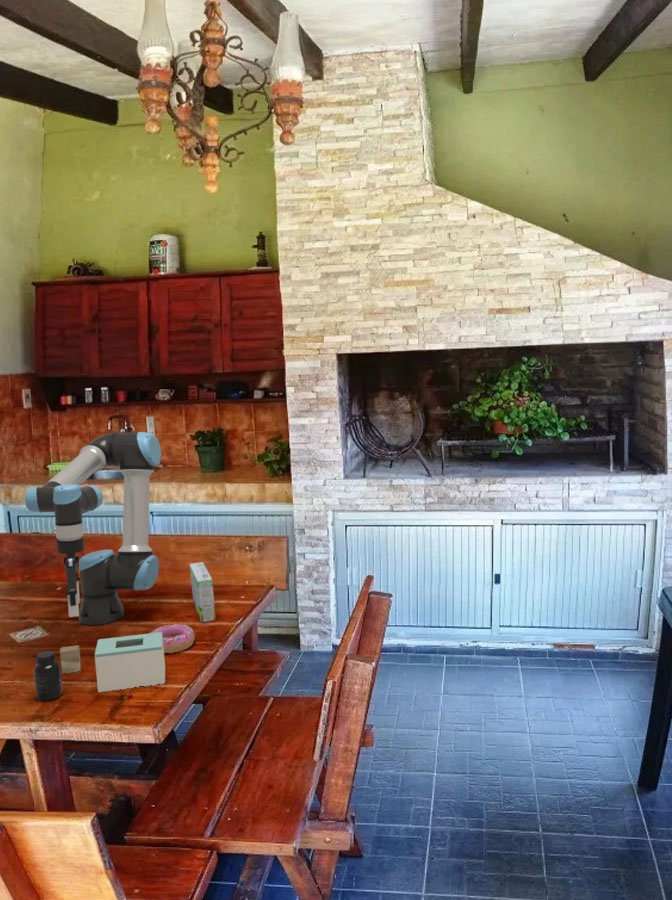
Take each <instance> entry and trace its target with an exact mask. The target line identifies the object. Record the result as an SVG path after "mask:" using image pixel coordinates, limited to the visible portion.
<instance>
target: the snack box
mask: <svg viewBox="0 0 672 900" xmlns="http://www.w3.org/2000/svg"><path fill="white" fill-rule="evenodd" d="M205 565H206V564H205V563H204V561H201V562H195V563H189V572H190V582H191V583H190V585H191V590H192V591H191V592H192V594H191V595H192V602H193V605H194V608H195V610H196V612H197V613H196V614H197V616H198V619H199V622H200V623H201V624H203V623H209V622H210V623H211V622H215V621H217V619H216V610H215V609H216V608H215V597H214V596H215V595H214V585H213V584H214V583H213V578H212V576H211V574H210V573H209V571H208V569H207V567H206V566H205Z"/></svg>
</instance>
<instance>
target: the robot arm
mask: <svg viewBox="0 0 672 900" xmlns="http://www.w3.org/2000/svg"><path fill="white" fill-rule="evenodd" d="M160 445H161V444H160V442H159V439H158V438H157V437H156V435H155V434H153V433H151V432H146V431H145V432H144V431H132V432H130V431H128V432H110V433H106V434H103V435H101V436H98V437H97V438H95V439H93V440H91V441H90V442H88V443H87V444H85V445H84V446H83V447H82V448H81V449H80V450H79V453H78V455H77V456H76V457H75V458H74V459H72V460H71V461H70V462H69V463H67V464H66V465H65V466H64V467H63V468H61V470H60V471H59V472H57V473H56V474H55V475H54V476H53V477H51V478H50V479H49V481H47V482H46V483H45V484H43V486H41V487H39V486H36V487H29V488H28V489H27V490H26V492H25V496H24V503H25V508H26V509H27V510H28V511H30V512H34V513H54V520H55V521H54V522H55V523H54V524H55V527H53V529H52V530H53V531H54V532H55V537H56V542H55V543H56V552H57V553H58V554H60V555H61V554H62V555H63V554H64V555H66V557H64V558H63V565H64V571H65V575H66V587H67V588H66V589H67V591H66V592H64V596H67V605H68V606H67V607H68V617H69V618H74V617H78V621H79V622H80V623H81V624H82V625H83V624H84V625H88V626H97V625H107V624H110V623H114V622H115V621H119V620H120V619H122V618H123V617H124V616H125V608H124V606H123V604H122V601H121V599H120V597H119V595H118V590H123V591H124V590H125V591H126V590H127V591H128V590H129V591H132V590H133V591H135V592H136V591H147V590H150V589H151V588H152V587H153V586H154V584H155V583H156V581H157V579H158V575H159V571H160V570H159V569H160V563H159V559H158V557H157V556H156V555H154V554H153V548H151V547H150V546H149V523H150V522H149V519H150V476H151V475H152V474H153V473H154V472H155V467H157V466H158V465H160V463H161V459H162V451H161V450H162V449H161V446H160ZM115 466H116V467H119V472H120V473H121V474H122V475H123V507H122V508H123V510H122V545H121V546H120V548H119V549H118V550H117V555H116V554H115V552H114V550H113V549H101V550H96V551H93V552H89V553H86V554H85V555H83V556H82V557H80V559H79V556H77V553H81V552H82V551H84V549H85V539H84V538H83V537H84V522H83V514H85V513H88V512H89V513H90V512H93V511H95V510H96V509H98V508H99V507H100V506H101V505H102V504H103V500H104V495H103V492H102V490H101V488H99V487H98V486H95V485H91V484H90V485H84V486H81V485H83V483H84V482H85V481H86V480H87V479H89V478H90V476H91V475H93V474H94V473H95V472H99V471H102V470H103V469H104V468H106V467H115ZM78 572H79V574H78ZM79 581H80V583H79ZM79 585H80V587H79ZM80 588H81V597H82V599H80ZM79 604H80V606H79Z"/></svg>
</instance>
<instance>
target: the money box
mask: <svg viewBox="0 0 672 900" xmlns="http://www.w3.org/2000/svg"><path fill="white" fill-rule="evenodd" d="M96 643H97V644H96V647H95V652H94V662H95V664H94V665H95V674H96V683H97V684H96V685H97V692H98V693H103V692H112V691H113V690H114V691H120V689H121V690H128V689H127V688H129V689H134V687H137V688H140V687H139V686H144V687H151V686H150V685H152V686H158V685H157V684H160V685H165V684H166V663H165V662H166V660H165V654H164V647H163V635H162V632H158V633H151V632H150V633H143V634H134V635H133V634H132V635H125V636H119V637H118V636H117V637H109V638H100V639H98V640H97V642H96ZM164 683H165V684H164Z"/></svg>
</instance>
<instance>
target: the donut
mask: <svg viewBox="0 0 672 900" xmlns="http://www.w3.org/2000/svg"><path fill="white" fill-rule="evenodd" d="M158 632H162V635H163V647H164V655H166V654H165V653H169V654H176V653H180V652H183V651H185V650H187V649H189V648H190V647H191V646H192V645H193V644H194V641H195V639H196V637H195V632H194V630H193V627H192V626H188V625H186V624H177V623H176V624H175V623H173V624H172V623H171V624H165V625H162V626H160V627H157V628H155V629H153V630H151V631H150V633H158ZM175 652H176V653H175Z"/></svg>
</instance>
